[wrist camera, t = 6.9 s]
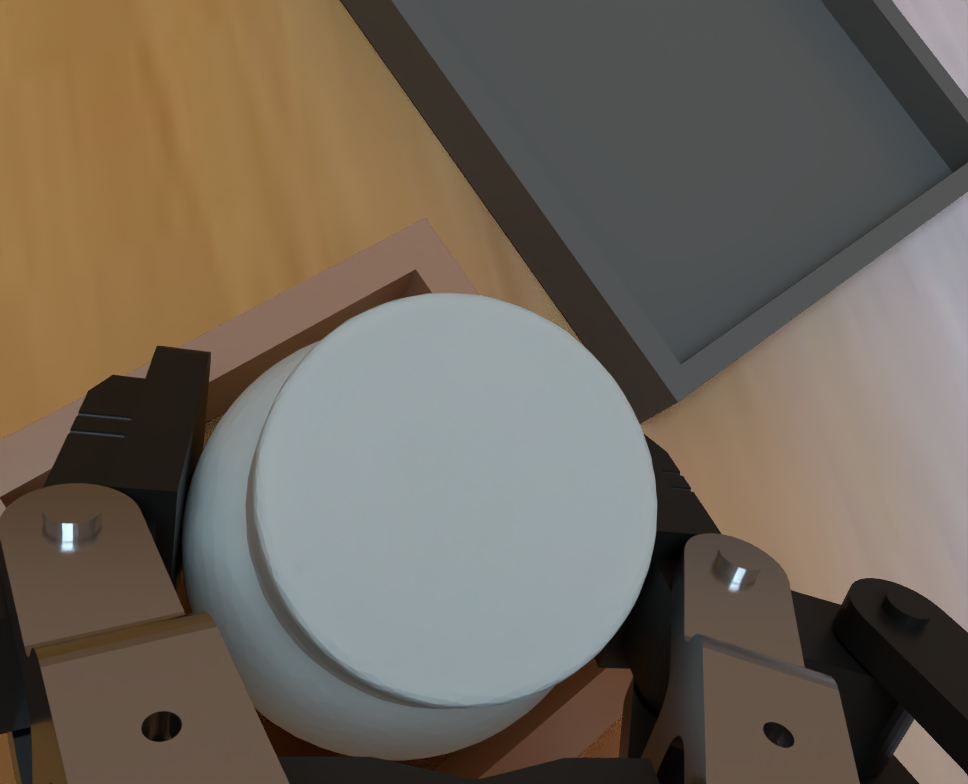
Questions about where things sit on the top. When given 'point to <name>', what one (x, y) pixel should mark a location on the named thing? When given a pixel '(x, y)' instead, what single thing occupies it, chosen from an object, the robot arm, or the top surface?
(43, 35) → the top surface
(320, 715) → the supplement bottle
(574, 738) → the frame
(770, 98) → the tray
